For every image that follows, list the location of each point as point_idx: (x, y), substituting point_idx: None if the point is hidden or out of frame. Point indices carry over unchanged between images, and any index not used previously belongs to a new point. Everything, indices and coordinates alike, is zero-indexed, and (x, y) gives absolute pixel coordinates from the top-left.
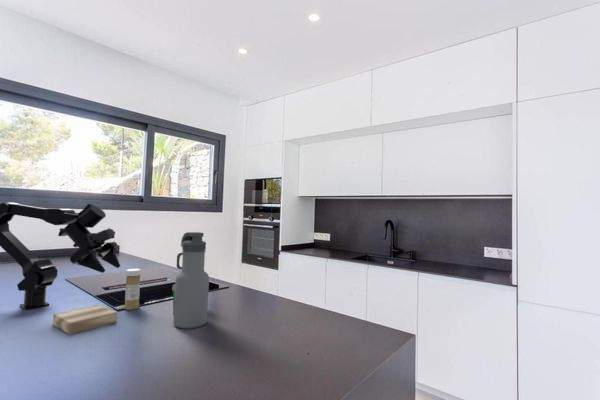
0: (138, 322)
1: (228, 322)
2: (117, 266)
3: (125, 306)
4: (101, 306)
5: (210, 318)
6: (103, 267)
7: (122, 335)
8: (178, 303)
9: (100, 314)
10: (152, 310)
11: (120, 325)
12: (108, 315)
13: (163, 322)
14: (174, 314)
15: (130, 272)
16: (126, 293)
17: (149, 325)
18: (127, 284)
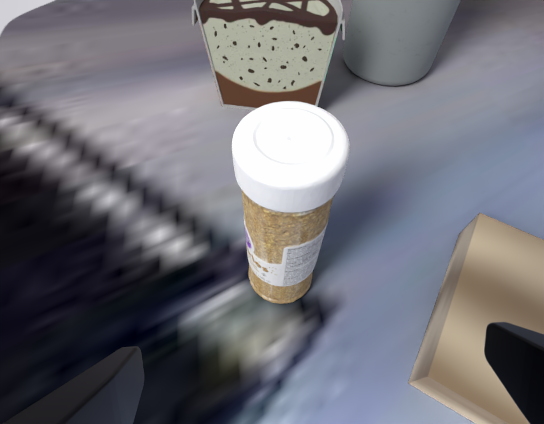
0: (427, 169)
1: (349, 12)
2: (137, 383)
3: (307, 285)
4: (444, 333)
5: None
6: (529, 340)
7: (536, 159)
8: (458, 3)
9: (537, 257)
10: None
11: (476, 204)
12: (513, 230)
13: (399, 112)
14: (432, 52)
15: (348, 143)
16: (318, 252)
17: (436, 133)
18: (326, 220)
